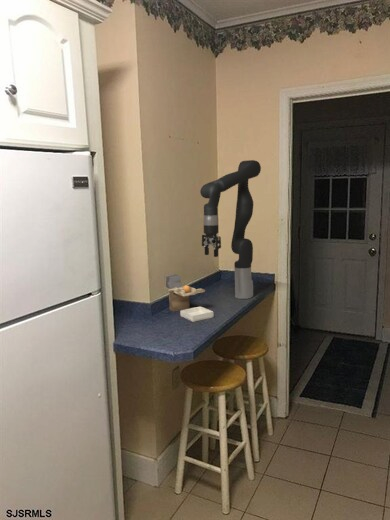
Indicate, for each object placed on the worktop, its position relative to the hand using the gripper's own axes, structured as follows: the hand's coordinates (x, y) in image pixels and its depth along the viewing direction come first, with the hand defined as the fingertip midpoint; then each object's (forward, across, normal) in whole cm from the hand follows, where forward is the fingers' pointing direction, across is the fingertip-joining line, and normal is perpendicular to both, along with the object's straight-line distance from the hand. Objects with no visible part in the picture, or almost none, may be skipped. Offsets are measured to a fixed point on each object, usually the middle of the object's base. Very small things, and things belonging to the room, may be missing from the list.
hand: (211, 255), depth 220 cm
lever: (+18, +6, +13) cm, 23 cm away
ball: (+17, -1, +16) cm, 23 cm away
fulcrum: (+27, +7, +16) cm, 32 cm away
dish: (+27, -10, +15) cm, 33 cm away
